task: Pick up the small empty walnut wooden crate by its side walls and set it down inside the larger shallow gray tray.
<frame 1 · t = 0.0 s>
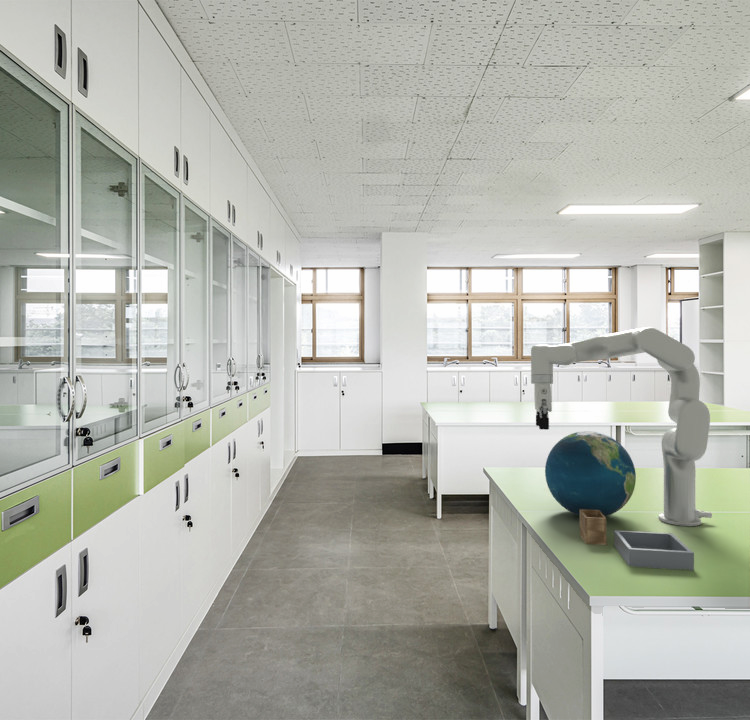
hand: (542, 427, 192), 31 cm above the table, tool pointing down, fingers open, 9 cm apart
globe: (589, 516, 190), on the table
shallow gray tray: (651, 558, 151), on the table
small crate: (592, 539, 166), on the table
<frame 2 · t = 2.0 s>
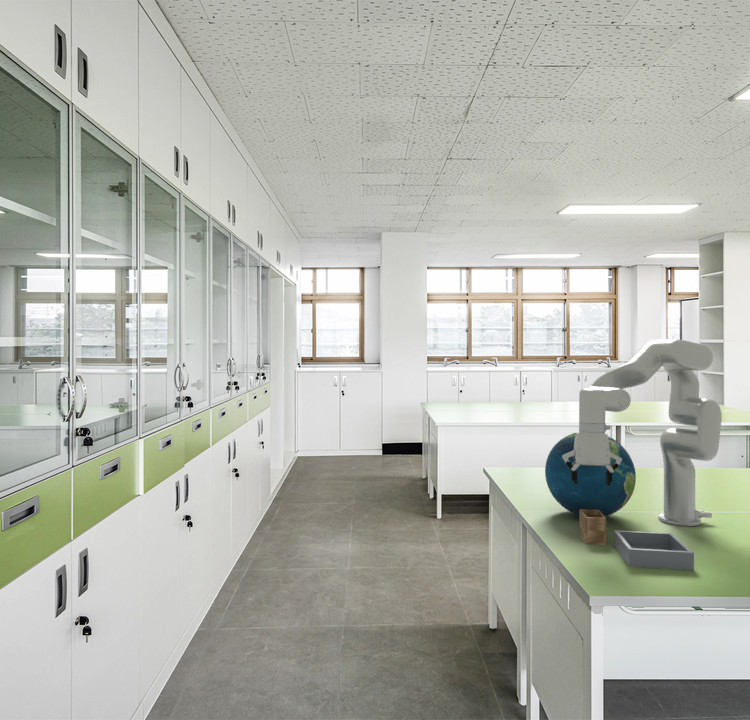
hand: (591, 483, 166), 17 cm above the table, tool pointing down, fingers open, 9 cm apart
nothing on the table moved.
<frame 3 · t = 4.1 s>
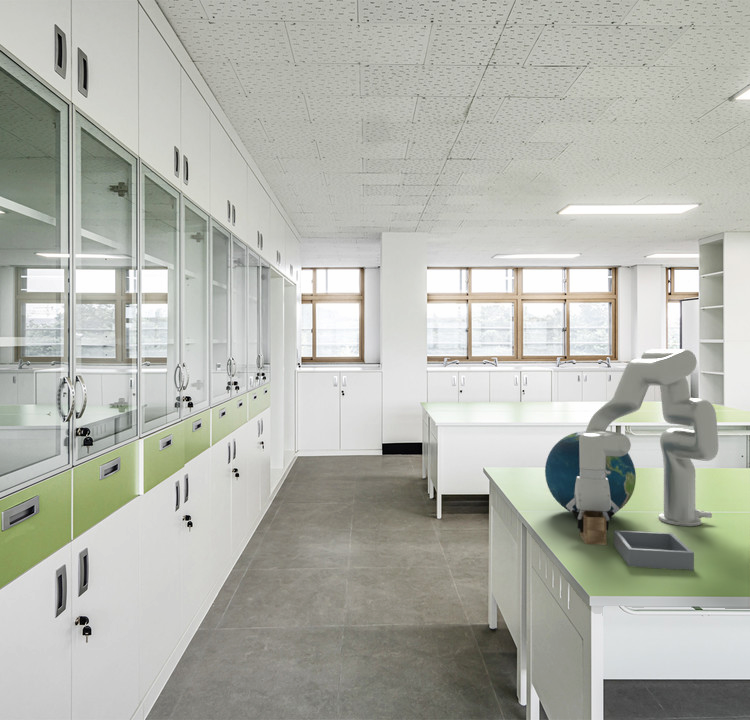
hand: (592, 531, 166), 2 cm above the table, tool pointing down, fingers closed on small crate, 6 cm apart
small crate: (592, 539, 166), on the table, touching gripper
everything else where it was.
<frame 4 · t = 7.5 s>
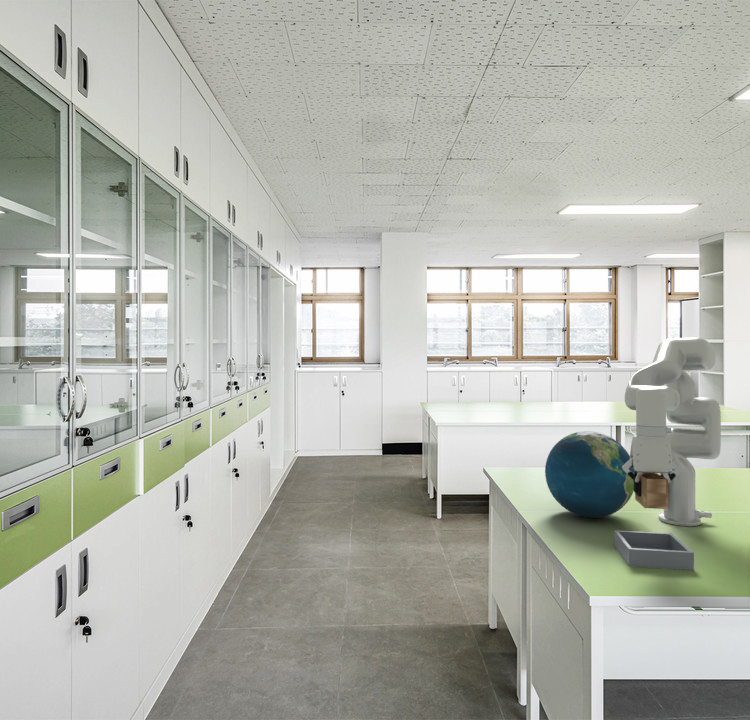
hand: (651, 495, 151), 17 cm above the table, tool pointing down, fingers closed on small crate, 6 cm apart
small crate: (651, 504, 151), point 15 cm above the table, touching gripper
everything else where it was.
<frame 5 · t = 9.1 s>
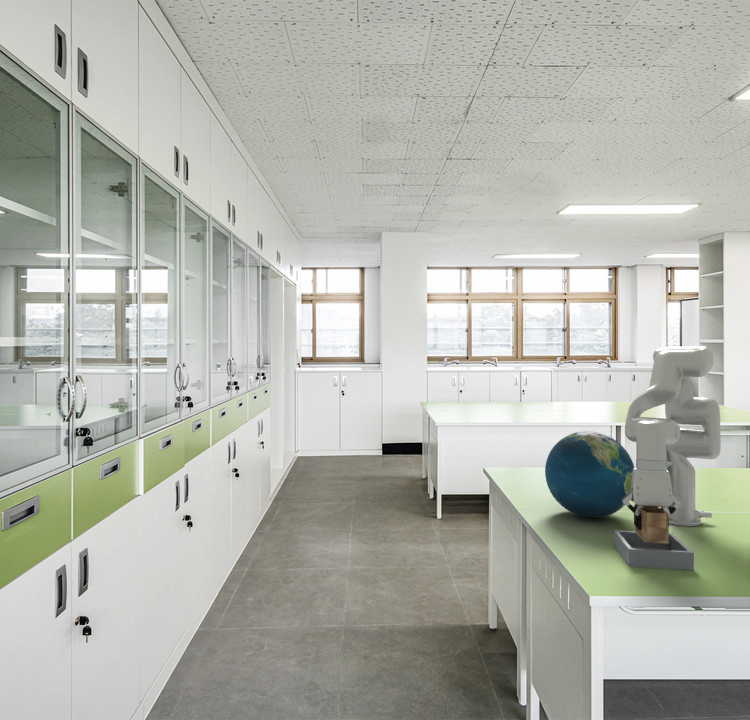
hand: (651, 528, 151), 8 cm above the table, tool pointing down, fingers closed on small crate, 6 cm apart
small crate: (651, 537, 151), point 6 cm above the table, touching gripper
everything else where it was.
when the fingers open (5 cm above the table, at t = 10.7 s): small crate drops 2 cm, resting on shallow gray tray.
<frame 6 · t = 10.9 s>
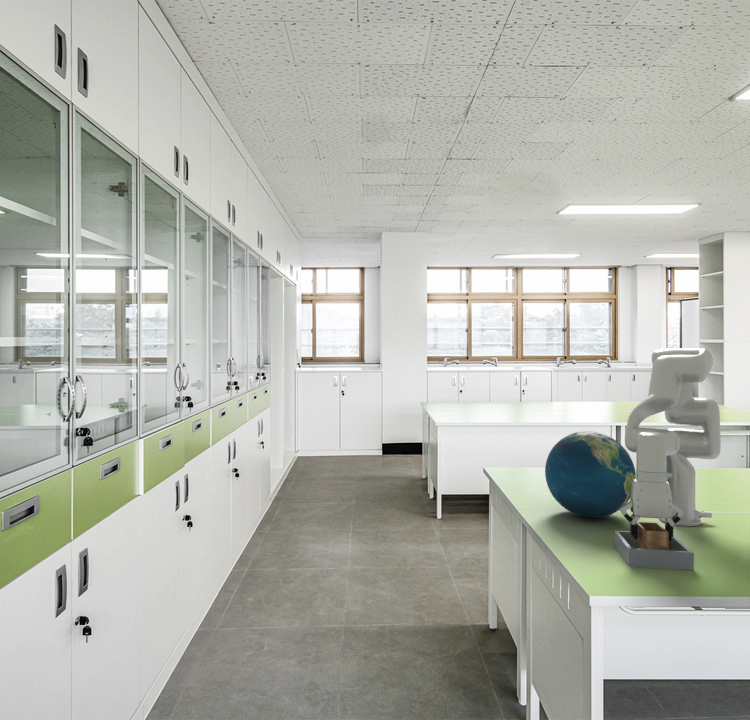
hand: (651, 538, 151), 5 cm above the table, tool pointing down, fingers open, 8 cm apart
shallow gray tray: (651, 558, 151), on the table, touching small crate
small crate: (651, 555, 151), point 1 cm above the table, touching shallow gray tray
everything else where it was.
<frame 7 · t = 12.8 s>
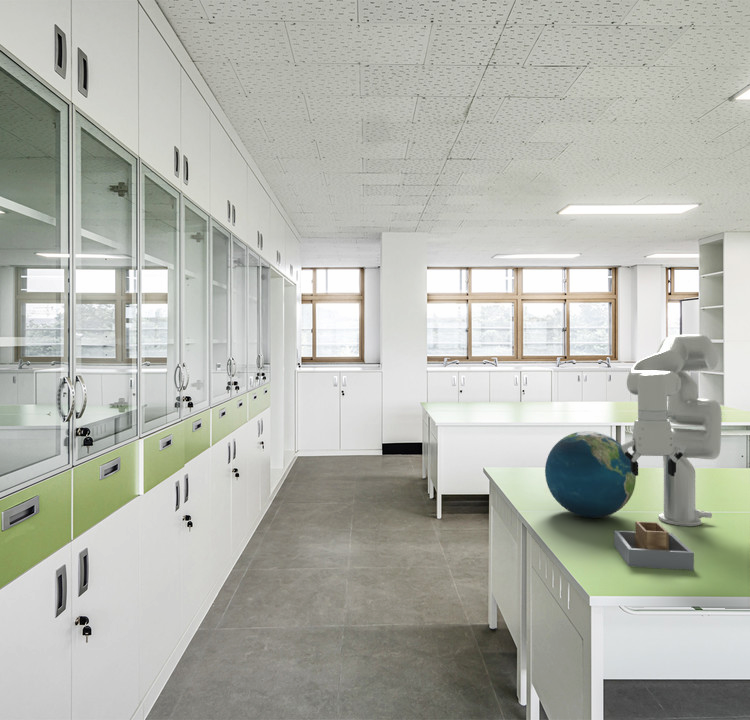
hand: (653, 474, 156), 22 cm above the table, tool pointing down, fingers open, 9 cm apart
nothing on the table moved.
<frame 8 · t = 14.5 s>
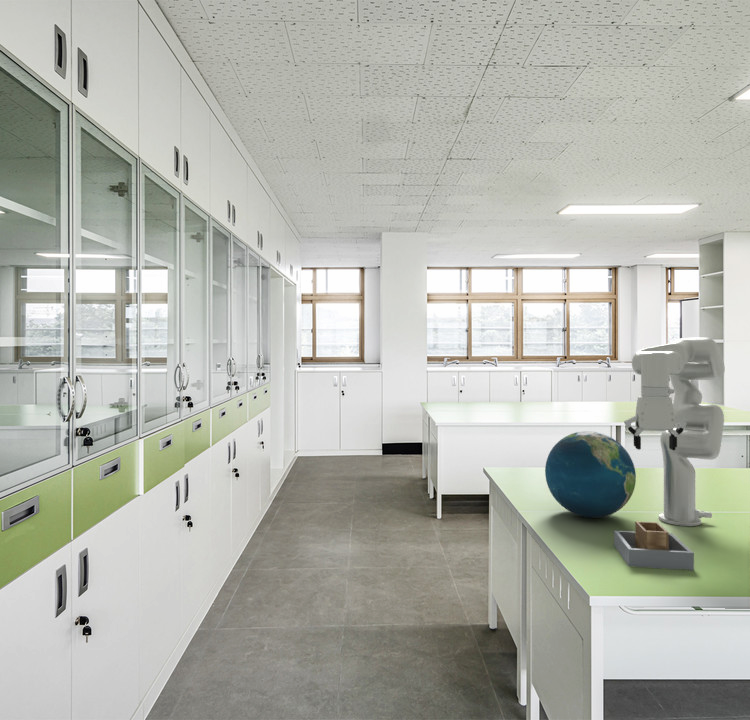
hand: (655, 449, 163), 28 cm above the table, tool pointing down, fingers open, 9 cm apart
nothing on the table moved.
at the end: small crate inside the target area on the shallow gray tray (0.1 cm from its centre), point 1.0 cm above the shallow gray tray's base; small crate tilted 0°; the gripper is holding nothing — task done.
